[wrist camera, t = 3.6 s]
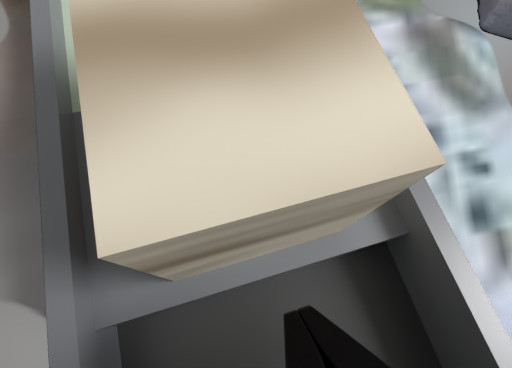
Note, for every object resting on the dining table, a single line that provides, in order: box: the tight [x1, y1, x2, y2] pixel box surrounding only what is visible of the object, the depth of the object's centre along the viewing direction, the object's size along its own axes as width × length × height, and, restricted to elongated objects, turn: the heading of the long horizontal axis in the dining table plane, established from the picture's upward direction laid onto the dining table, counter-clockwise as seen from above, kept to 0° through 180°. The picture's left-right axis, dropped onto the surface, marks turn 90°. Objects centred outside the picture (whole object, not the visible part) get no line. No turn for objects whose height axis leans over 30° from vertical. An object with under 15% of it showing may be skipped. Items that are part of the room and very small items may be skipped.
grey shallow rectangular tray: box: [30, 0, 512, 368], centre depth 18 cm, size 38×17×4 cm, turn 17°
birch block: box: [69, 0, 447, 281], centre depth 12 cm, size 10×8×8 cm
